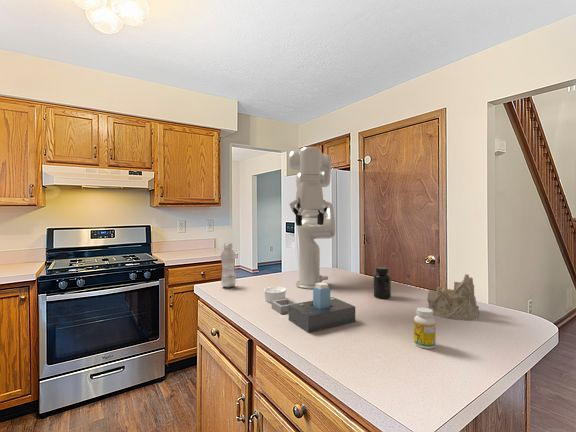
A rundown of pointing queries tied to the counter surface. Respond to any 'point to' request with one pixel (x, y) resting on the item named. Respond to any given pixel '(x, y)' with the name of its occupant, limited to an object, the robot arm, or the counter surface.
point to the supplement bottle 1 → (382, 283)
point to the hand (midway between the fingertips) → (309, 225)
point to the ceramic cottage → (455, 301)
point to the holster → (282, 305)
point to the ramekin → (274, 293)
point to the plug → (321, 295)
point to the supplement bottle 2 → (424, 328)
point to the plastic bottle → (228, 266)
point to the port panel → (321, 315)
